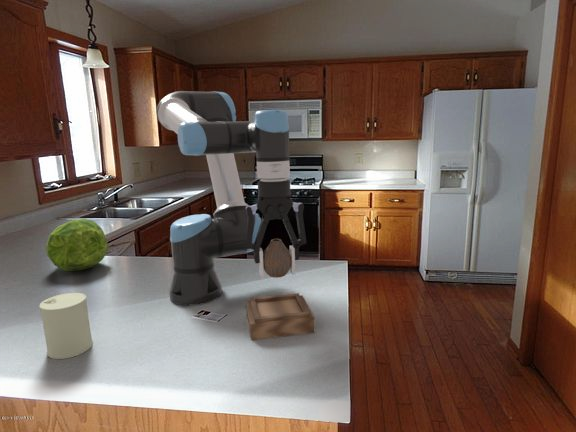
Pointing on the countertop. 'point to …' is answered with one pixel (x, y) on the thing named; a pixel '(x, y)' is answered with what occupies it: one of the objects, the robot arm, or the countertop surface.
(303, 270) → the countertop surface
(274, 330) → the brown wooden flat box
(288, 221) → the robot arm
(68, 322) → the can
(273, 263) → the vase
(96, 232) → the lettuce
